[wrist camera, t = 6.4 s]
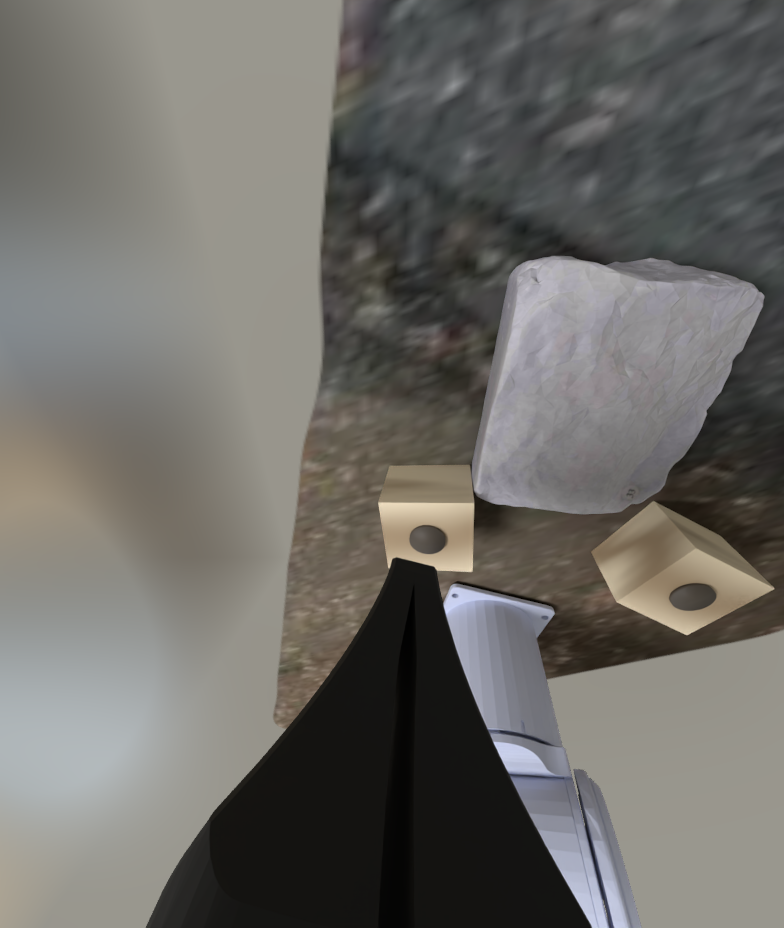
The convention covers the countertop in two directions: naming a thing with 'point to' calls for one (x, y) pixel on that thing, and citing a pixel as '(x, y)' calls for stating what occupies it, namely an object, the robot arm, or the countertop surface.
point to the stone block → (604, 379)
